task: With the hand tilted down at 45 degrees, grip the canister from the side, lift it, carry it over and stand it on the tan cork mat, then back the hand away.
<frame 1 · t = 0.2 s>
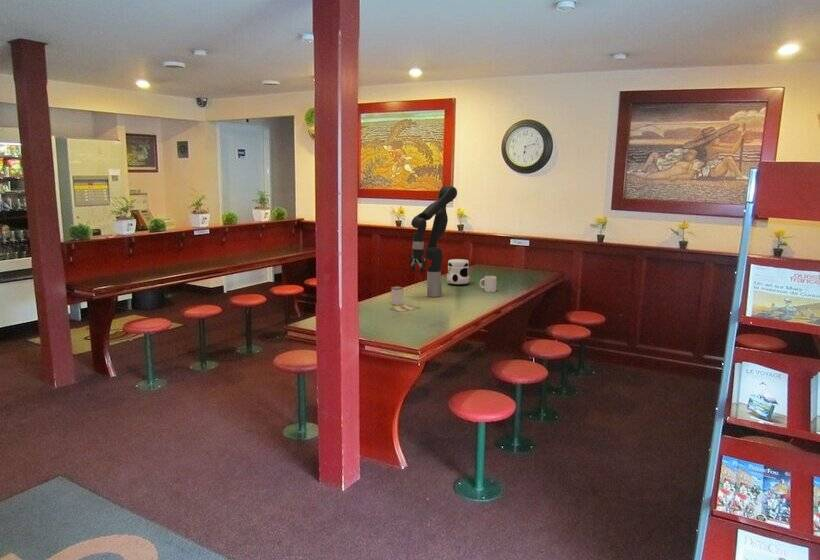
hand: (417, 272, 380), 18 cm above the table, tool pointing down, fingers open, 8 cm apart
mat: (403, 308, 357), on the table
mug: (487, 291, 408), on the table
milk container: (458, 284, 432), on the table
canister: (397, 304, 369), on the table
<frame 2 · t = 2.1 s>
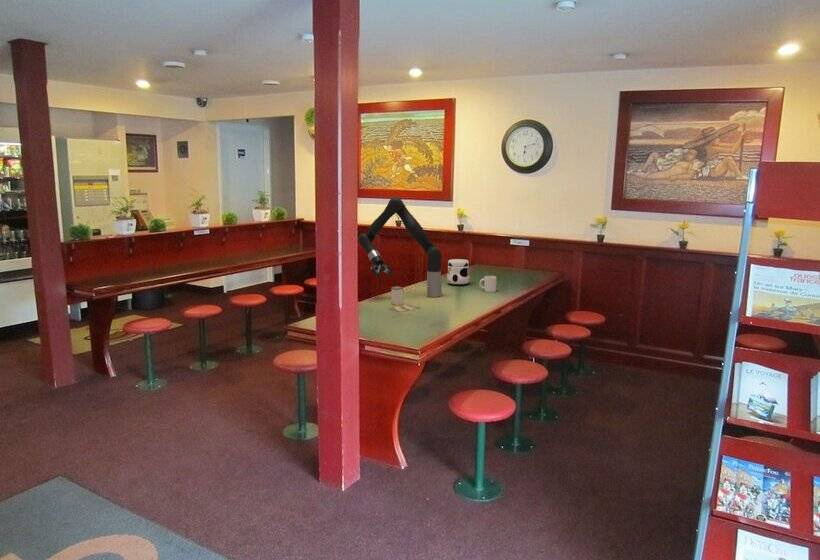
hand: (386, 278, 375), 15 cm above the table, tool tilted 45°, fingers open, 8 cm apart
nothing on the table moved.
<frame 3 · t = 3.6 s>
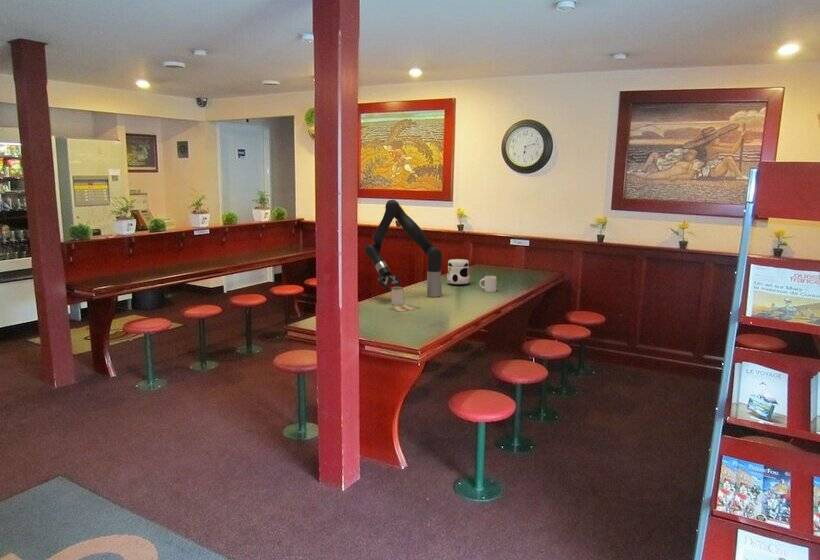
hand: (393, 289, 370), 9 cm above the table, tool tilted 45°, fingers open, 8 cm apart
nothing on the table moved.
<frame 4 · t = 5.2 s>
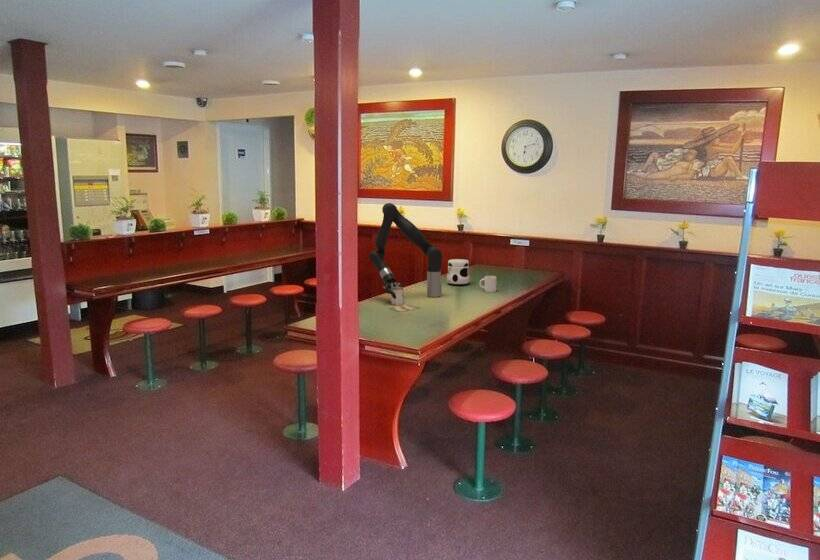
hand: (398, 297, 367), 5 cm above the table, tool tilted 45°, fingers closed on canister, 5 cm apart
canister: (397, 304, 369), on the table, touching gripper
everything else where it was.
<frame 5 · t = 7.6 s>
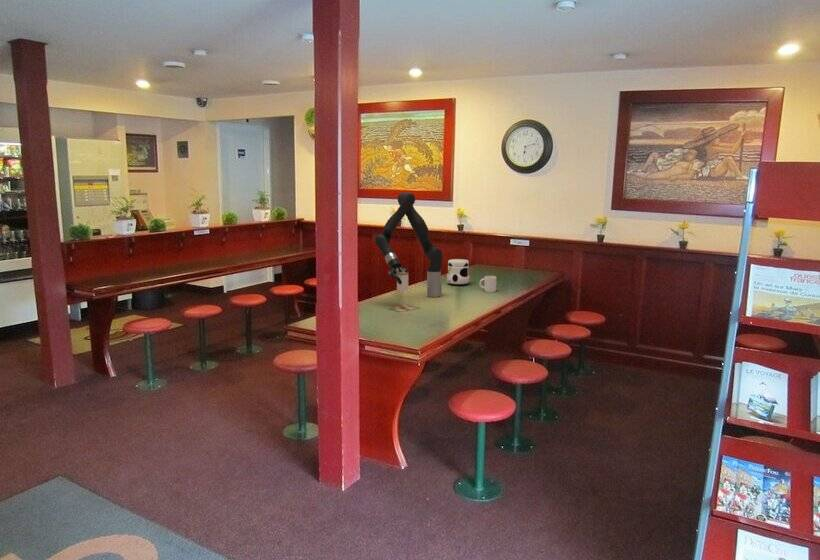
hand: (404, 283, 353), 16 cm above the table, tool tilted 45°, fingers closed on canister, 5 cm apart
canister: (402, 290, 356), point 11 cm above the table, touching gripper
everything else where it was.
when the fingers open (6 cm above the table, at t = 10.1 s): canister stays where it is, resting on mat.
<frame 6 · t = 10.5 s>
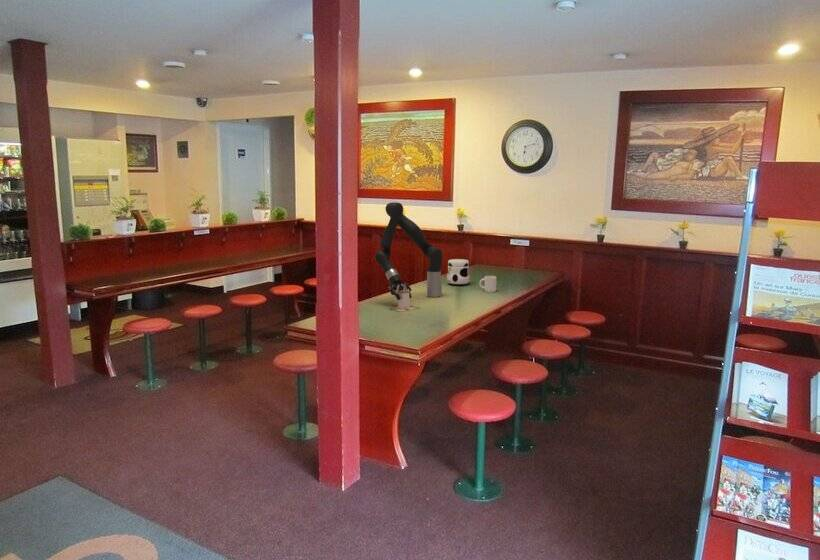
hand: (405, 298, 355), 6 cm above the table, tool tilted 45°, fingers open, 8 cm apart
canister: (403, 308, 357), resting on mat
everything else where it was.
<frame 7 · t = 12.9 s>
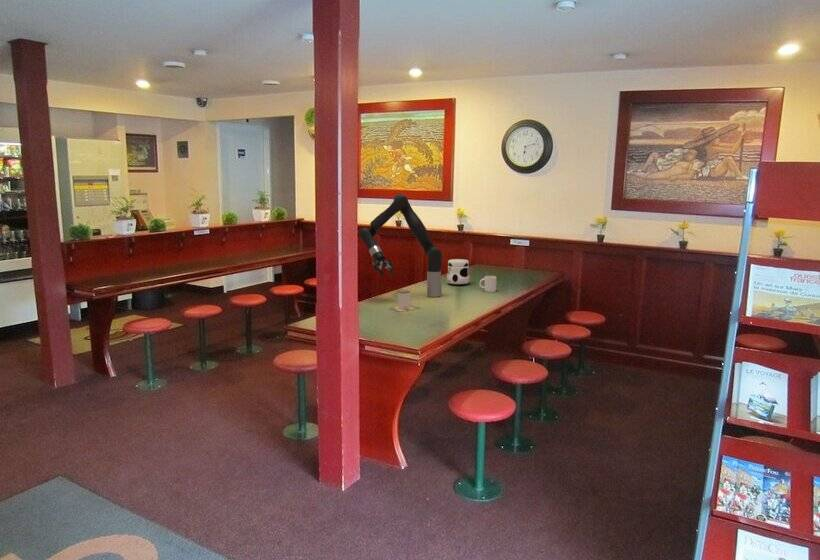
hand: (387, 274, 368), 19 cm above the table, tool tilted 40°, fingers open, 8 cm apart
nothing on the table moved.
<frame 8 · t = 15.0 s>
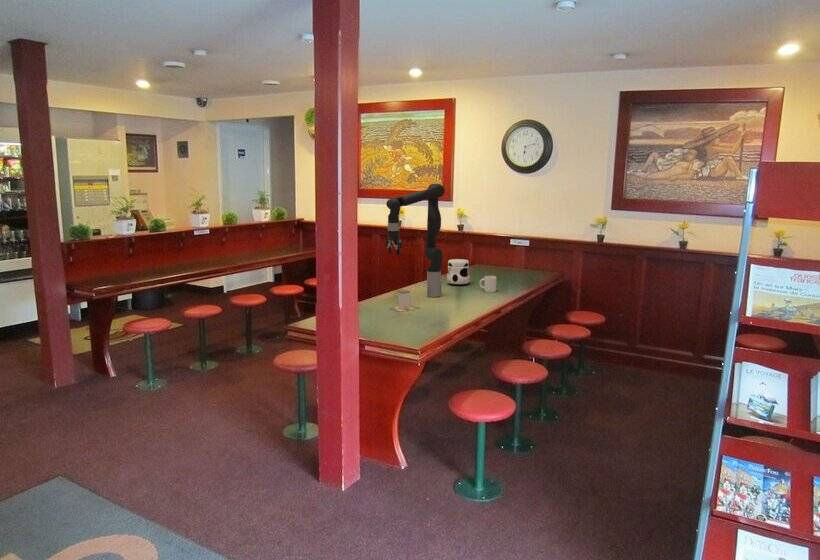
hand: (393, 254, 375), 30 cm above the table, tool pointing down, fingers open, 8 cm apart
nothing on the table moved.
at the end: canister inside the target area on the mat (0.1 cm from its centre), point 0.2 cm above the mat's base; canister tilted 0°; the gripper is holding nothing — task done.
